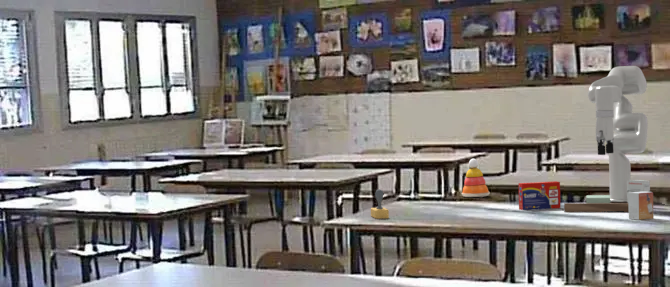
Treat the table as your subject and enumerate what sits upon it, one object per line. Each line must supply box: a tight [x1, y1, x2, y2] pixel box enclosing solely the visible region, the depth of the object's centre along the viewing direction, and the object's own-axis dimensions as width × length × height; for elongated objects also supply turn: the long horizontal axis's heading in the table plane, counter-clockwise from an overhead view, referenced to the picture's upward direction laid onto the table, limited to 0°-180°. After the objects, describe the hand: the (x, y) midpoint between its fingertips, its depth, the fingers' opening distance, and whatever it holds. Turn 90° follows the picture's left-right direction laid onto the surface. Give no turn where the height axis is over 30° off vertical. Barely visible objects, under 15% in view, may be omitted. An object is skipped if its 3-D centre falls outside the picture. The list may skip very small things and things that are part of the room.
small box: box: [628, 191, 654, 221], centre depth 382 cm, size 8×6×10 cm
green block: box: [585, 194, 611, 203], centre depth 424 cm, size 12×10×6 cm
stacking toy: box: [461, 158, 491, 198], centre depth 495 cm, size 14×14×20 cm
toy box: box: [518, 181, 562, 211], centre depth 430 cm, size 18×4×12 cm, turn 104°
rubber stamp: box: [370, 188, 390, 220], centre depth 415 cm, size 10×6×12 cm, turn 10°
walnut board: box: [563, 202, 629, 213], centre depth 412 cm, size 2×28×4 cm, turn 75°
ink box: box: [626, 179, 651, 203], centre depth 425 cm, size 8×5×12 cm, turn 39°
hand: (605, 153), depth 426 cm, fingers open, 9 cm apart
